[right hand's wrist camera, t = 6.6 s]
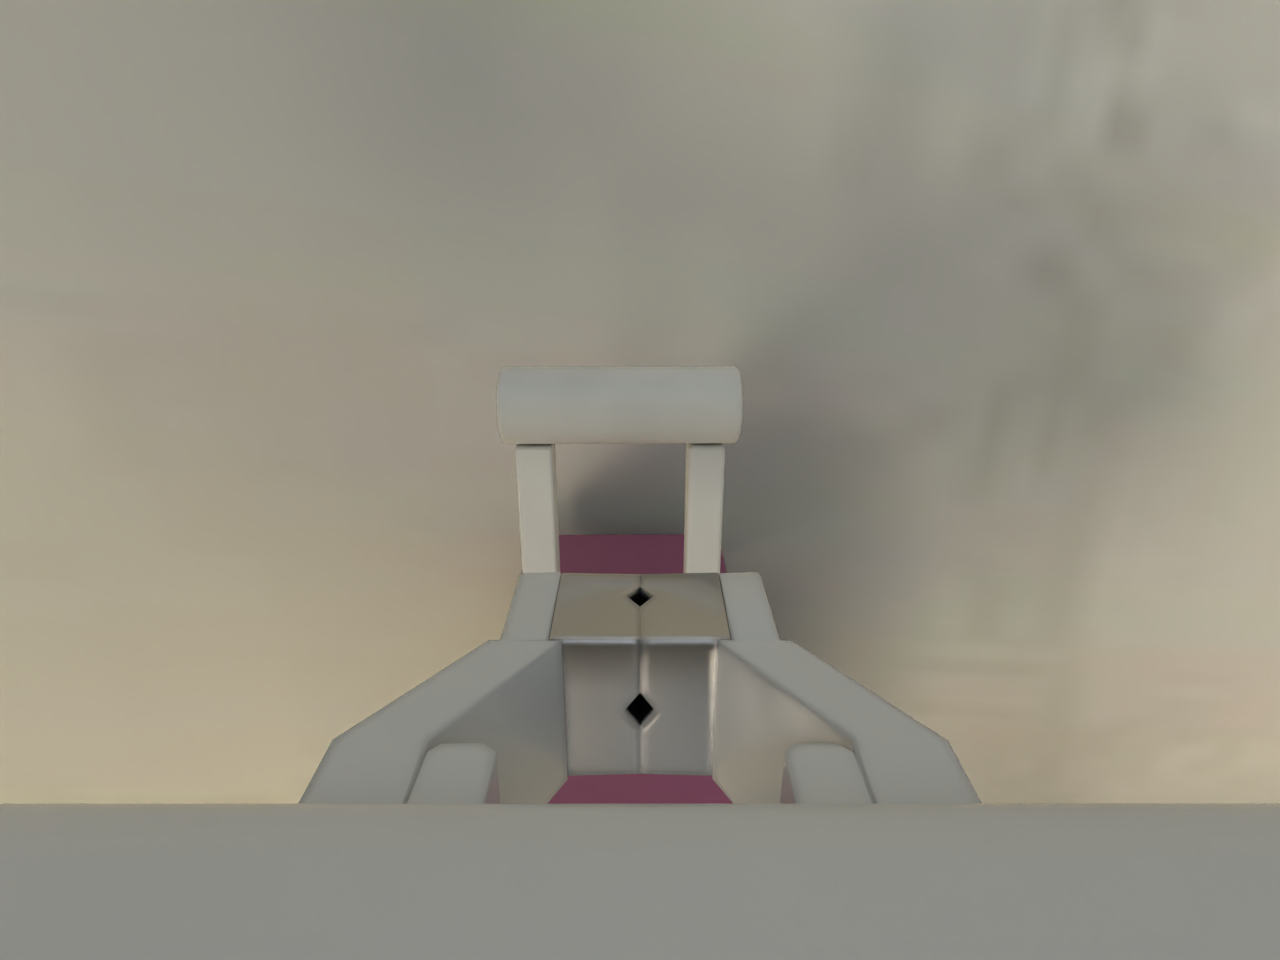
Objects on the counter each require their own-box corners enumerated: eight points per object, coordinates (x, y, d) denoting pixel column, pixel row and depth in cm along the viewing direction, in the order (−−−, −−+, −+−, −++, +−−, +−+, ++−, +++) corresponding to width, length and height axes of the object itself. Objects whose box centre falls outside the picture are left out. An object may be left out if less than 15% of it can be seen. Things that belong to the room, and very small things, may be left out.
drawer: (518, 306, 18) (433, 412, 10) (727, 306, 18) (800, 410, 10) (555, 962, 26) (522, 1302, 18) (700, 961, 26) (731, 1298, 18)
